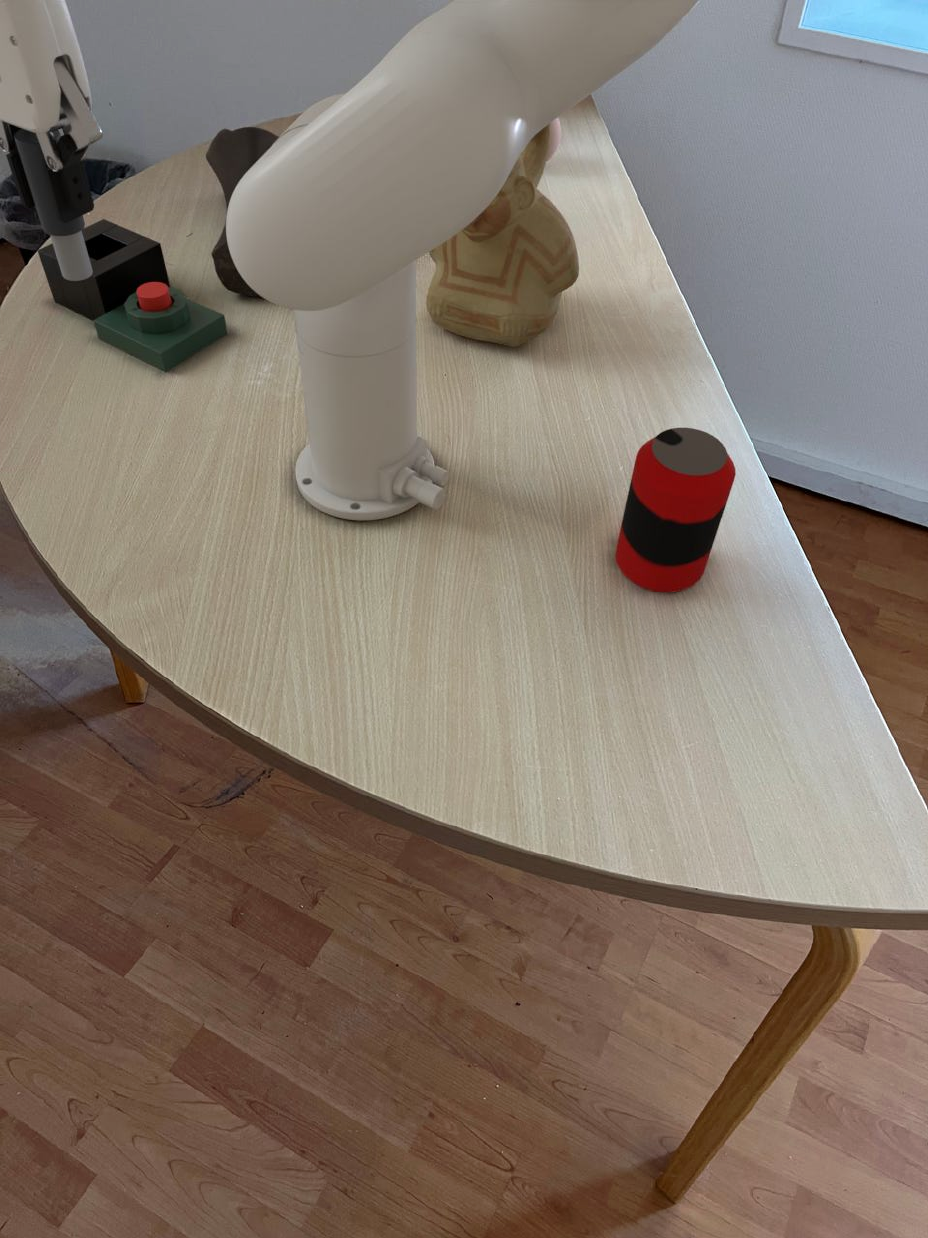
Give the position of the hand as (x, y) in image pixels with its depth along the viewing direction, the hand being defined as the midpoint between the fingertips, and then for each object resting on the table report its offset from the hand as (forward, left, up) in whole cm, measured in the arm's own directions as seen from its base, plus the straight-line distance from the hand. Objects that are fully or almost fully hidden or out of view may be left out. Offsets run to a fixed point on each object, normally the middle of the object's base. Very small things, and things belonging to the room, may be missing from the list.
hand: (58, 205), depth 72 cm
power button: (+9, -13, -18) cm, 24 cm away
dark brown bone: (+15, -35, -22) cm, 44 cm away
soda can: (-50, -14, -22) cm, 56 cm away
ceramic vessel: (-18, -38, -22) cm, 47 cm away
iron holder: (+19, -15, -21) cm, 32 cm away
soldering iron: (0, 0, -6) cm, 6 cm away
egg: (0, -74, -22) cm, 77 cm away
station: (+9, -13, -21) cm, 27 cm away
